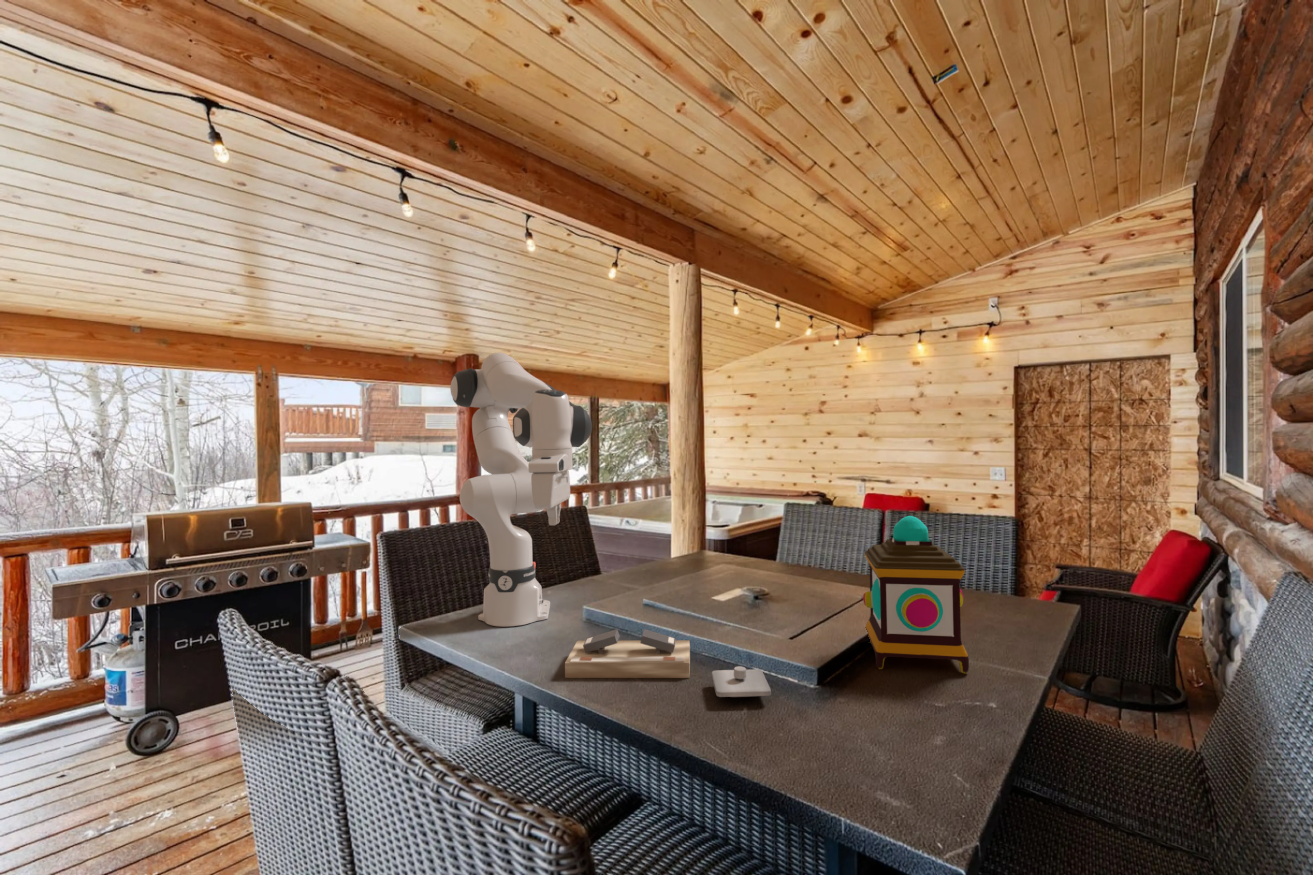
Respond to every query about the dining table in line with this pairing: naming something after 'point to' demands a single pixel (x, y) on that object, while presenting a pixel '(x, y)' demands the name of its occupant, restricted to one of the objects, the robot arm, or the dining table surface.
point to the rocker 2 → (658, 640)
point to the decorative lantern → (914, 598)
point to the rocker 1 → (601, 640)
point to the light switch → (740, 683)
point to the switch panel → (629, 661)
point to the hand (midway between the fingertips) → (554, 524)
